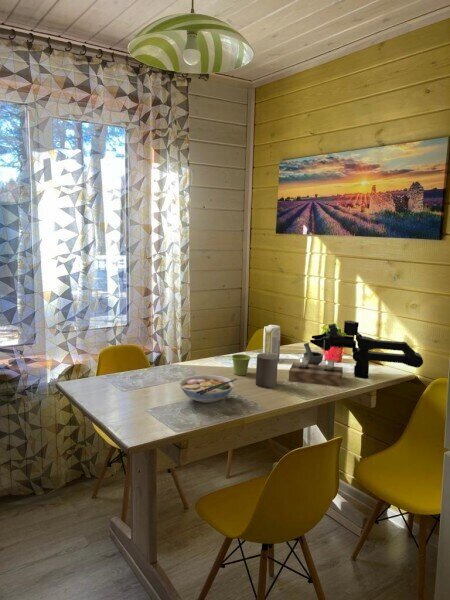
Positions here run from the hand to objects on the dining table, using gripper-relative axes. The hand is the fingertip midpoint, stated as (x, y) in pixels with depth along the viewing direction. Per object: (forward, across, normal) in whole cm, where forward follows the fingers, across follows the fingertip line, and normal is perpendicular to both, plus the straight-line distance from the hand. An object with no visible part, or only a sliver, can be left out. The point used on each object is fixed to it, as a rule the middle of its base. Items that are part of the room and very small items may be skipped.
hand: (310, 338), depth 251 cm
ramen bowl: (+37, +56, +17) cm, 69 cm away
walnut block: (-4, +12, +17) cm, 21 cm away
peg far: (+2, +12, +12) cm, 17 cm away
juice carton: (+22, -12, +17) cm, 30 cm away
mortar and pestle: (0, -8, +17) cm, 19 cm away
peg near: (-10, +12, +12) cm, 20 cm away
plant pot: (+32, +16, +17) cm, 39 cm away
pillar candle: (+17, +28, +17) cm, 37 cm away
